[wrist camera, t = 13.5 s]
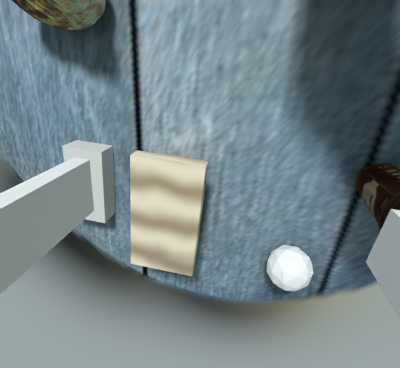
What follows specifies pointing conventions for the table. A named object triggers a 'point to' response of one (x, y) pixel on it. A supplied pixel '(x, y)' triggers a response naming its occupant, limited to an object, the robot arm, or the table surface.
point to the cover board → (166, 210)
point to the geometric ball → (289, 268)
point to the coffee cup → (380, 189)
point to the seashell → (64, 12)
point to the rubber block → (97, 175)
